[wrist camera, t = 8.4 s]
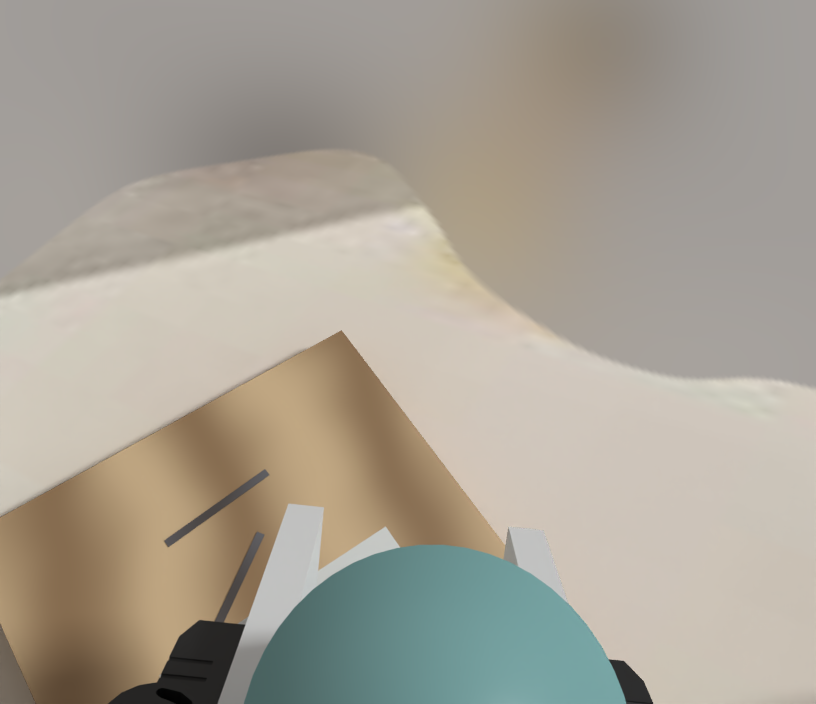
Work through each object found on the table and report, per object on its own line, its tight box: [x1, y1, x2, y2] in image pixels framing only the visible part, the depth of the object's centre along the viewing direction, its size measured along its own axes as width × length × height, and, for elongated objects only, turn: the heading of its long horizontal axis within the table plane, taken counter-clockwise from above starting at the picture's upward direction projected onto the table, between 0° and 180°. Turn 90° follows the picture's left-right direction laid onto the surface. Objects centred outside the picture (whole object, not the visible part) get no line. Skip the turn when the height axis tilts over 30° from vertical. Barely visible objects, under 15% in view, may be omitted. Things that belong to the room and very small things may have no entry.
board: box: [0, 330, 505, 704], centre depth 27 cm, size 16×20×2 cm
